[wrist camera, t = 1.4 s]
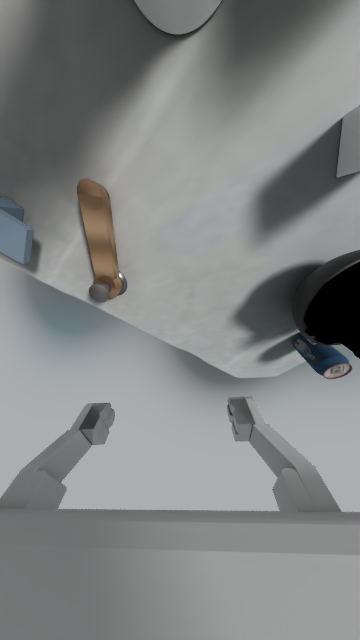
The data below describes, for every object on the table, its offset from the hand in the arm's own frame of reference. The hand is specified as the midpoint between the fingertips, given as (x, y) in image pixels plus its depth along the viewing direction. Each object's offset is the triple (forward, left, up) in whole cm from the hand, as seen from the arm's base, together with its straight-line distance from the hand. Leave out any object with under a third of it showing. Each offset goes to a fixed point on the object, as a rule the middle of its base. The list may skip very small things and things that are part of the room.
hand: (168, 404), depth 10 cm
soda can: (+14, +40, -30) cm, 52 cm away
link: (-4, -16, -29) cm, 33 cm away
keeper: (-6, -32, -29) cm, 44 cm away
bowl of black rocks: (-2, +34, -30) cm, 45 cm away
